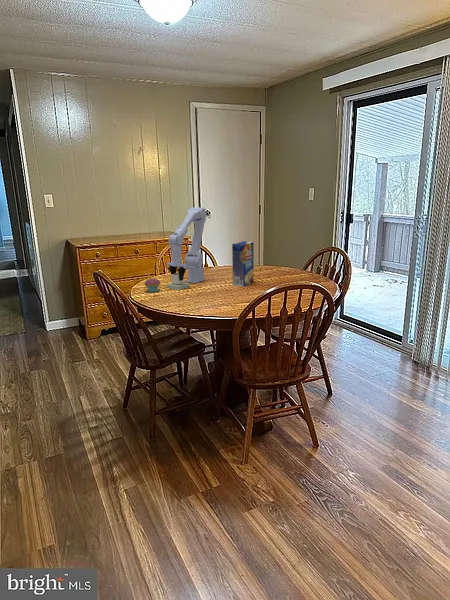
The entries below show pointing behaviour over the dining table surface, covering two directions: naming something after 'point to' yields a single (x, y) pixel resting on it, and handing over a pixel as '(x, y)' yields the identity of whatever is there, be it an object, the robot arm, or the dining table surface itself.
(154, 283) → the cupcake
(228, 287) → the dining table surface
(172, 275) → the block
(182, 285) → the base
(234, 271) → the juice carton
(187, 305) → the dining table surface
